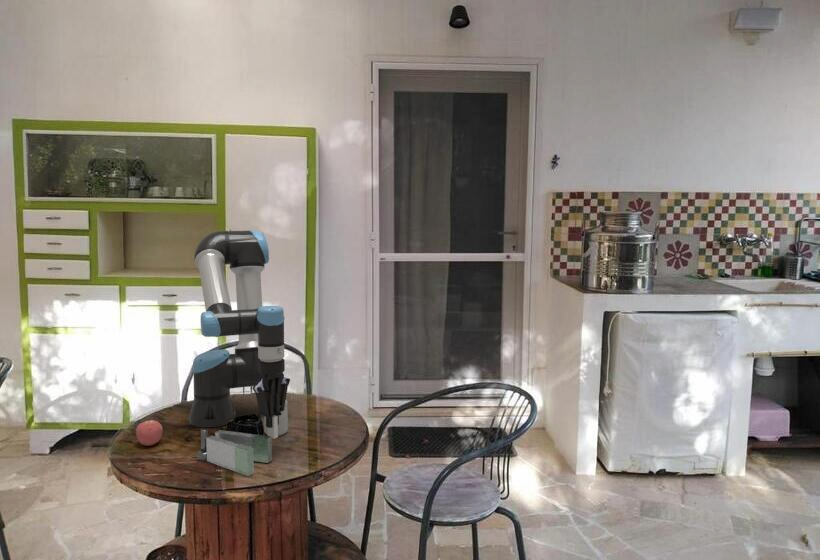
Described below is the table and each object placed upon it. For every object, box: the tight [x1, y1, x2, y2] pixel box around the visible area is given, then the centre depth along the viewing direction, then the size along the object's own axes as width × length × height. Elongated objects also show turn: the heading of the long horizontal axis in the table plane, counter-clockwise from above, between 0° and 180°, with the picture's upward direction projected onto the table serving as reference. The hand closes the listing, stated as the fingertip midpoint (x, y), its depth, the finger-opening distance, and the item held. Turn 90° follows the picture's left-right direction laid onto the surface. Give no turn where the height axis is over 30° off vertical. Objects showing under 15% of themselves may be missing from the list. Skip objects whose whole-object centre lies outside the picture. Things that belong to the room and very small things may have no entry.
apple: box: [135, 418, 164, 447], centre depth 187 cm, size 7×7×8 cm
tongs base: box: [196, 428, 255, 477], centre depth 172 cm, size 21×4×8 cm, turn 56°
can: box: [263, 399, 289, 437], centre depth 197 cm, size 8×8×12 cm
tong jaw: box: [214, 429, 273, 464], centre depth 177 cm, size 17×2×7 cm, turn 74°
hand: (272, 436), depth 183 cm, fingers closed
